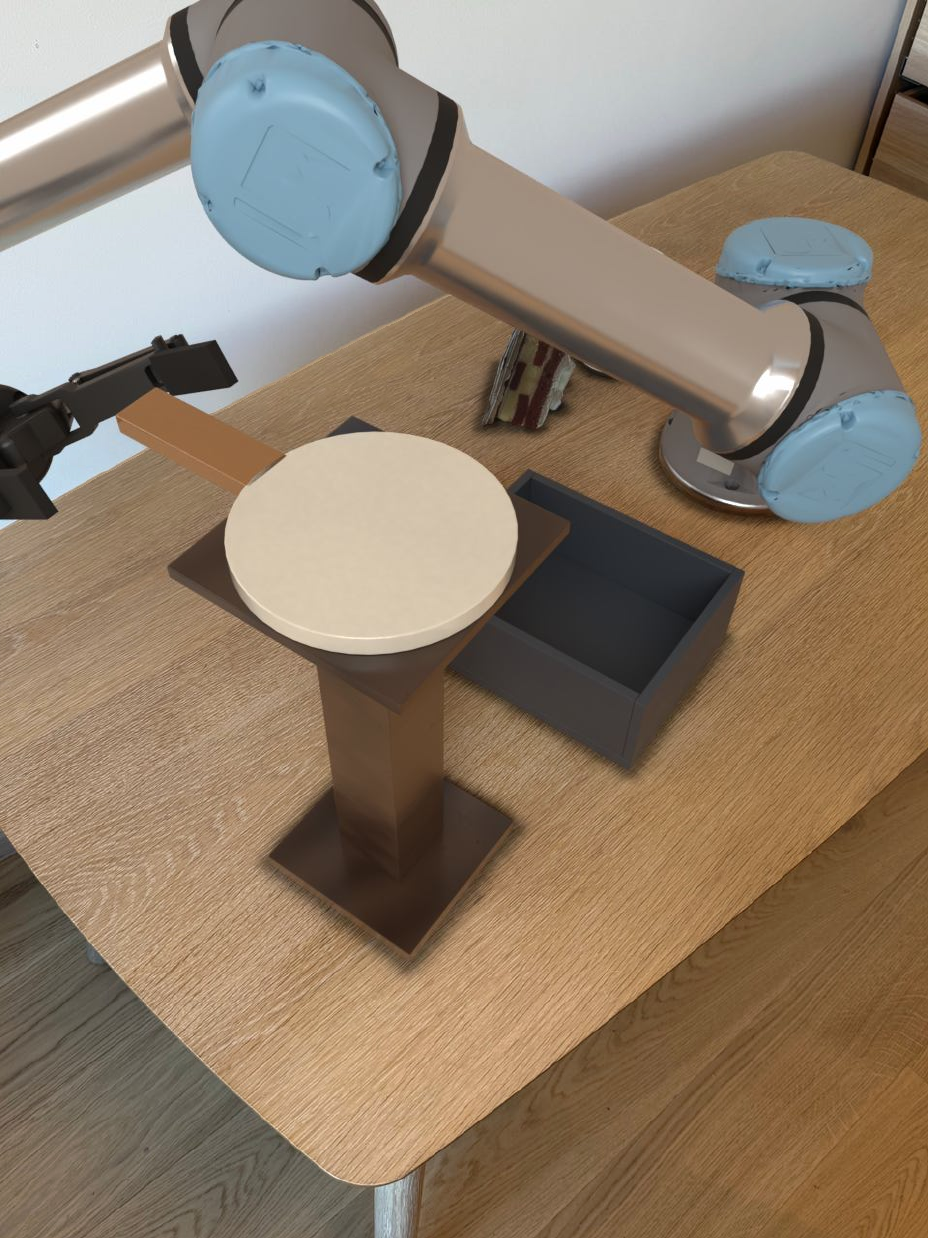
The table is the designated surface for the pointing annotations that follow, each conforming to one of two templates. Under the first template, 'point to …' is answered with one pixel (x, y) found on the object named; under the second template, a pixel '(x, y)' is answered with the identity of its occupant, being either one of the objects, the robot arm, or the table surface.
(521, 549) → the stand
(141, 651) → the table surface
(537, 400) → the chocolate cake
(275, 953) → the table surface
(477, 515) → the round paddle with handle
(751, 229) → the robot arm
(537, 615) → the tub
